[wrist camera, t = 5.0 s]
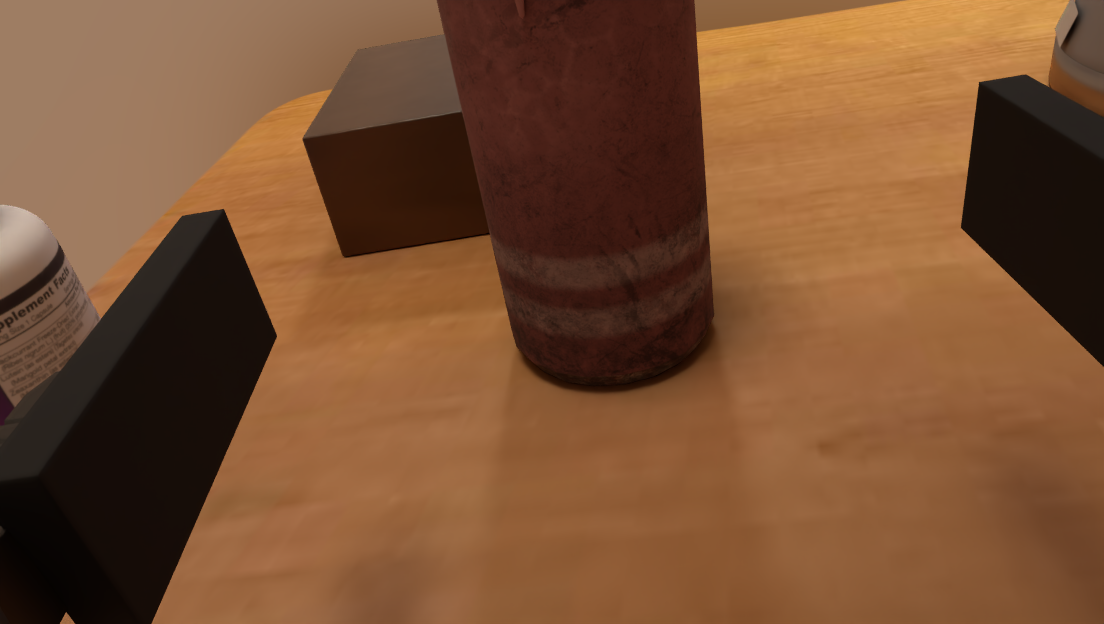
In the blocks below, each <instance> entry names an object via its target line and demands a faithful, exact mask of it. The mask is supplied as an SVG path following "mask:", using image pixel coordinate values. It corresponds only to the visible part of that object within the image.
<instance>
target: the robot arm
mask: <svg viewBox="0 0 1104 624" xmlns="http://www.w3.org/2000/svg"><path fill="white" fill-rule="evenodd" d="M1055 31H1056V38H1055V44H1054V50H1053V56H1052V61H1051V67H1050V73H1049V84H1050V86H1051V88H1052V89H1051V88H1049V87H1048V86H1046V85H1044V84H1042V83H1040V82H1038V81H1037V80H1035V79H1033V78H1031V77H1029V76H1028V75H1020V76H1014V77H1008V78H1002V79H996V80H990V81H984V82H979V88H978V96H977V104H976V112H975V120H974V128H973V136H972V144H971V152H970V160H969V168H968V176H967V184H966V191H965V199H964V207H963V215H962V223H961V228H962V229H963V230H964V231H965V232H966V233H967V234H968V235H969V236H970V237H971V238H972V239H973V240H974V241H975V242H976V243H977V244H978V245H979V246H980V247H981V248H982V249H983V250H984V251H985V252H986V253H987V254H988V255H989V256H990V257H992V258H993V259H994V260H995V261H996V262H997V263H998V264H999V265H1000V266H1001V267H1002V268H1003V269H1004V270H1005V271H1006V272H1007V273H1008V274H1009V275H1010V276H1011V277H1012V278H1013V279H1014V280H1015V281H1016V282H1017V283H1018V284H1019V285H1020V286H1021V287H1022V288H1023V289H1024V290H1025V291H1026V292H1027V293H1028V294H1029V295H1031V296H1032V297H1033V298H1034V299H1035V300H1036V301H1037V302H1038V303H1039V304H1040V305H1041V306H1042V307H1043V308H1044V309H1045V310H1046V311H1047V312H1048V313H1049V314H1050V315H1051V316H1052V317H1053V318H1054V319H1055V320H1056V321H1057V322H1058V323H1059V324H1060V325H1061V326H1062V327H1063V328H1064V329H1065V330H1066V331H1067V332H1069V333H1070V334H1071V335H1072V336H1073V337H1074V338H1075V339H1076V340H1077V341H1078V342H1079V343H1080V344H1081V345H1082V346H1083V347H1084V348H1085V349H1086V350H1087V351H1088V352H1089V353H1090V354H1091V355H1092V356H1093V357H1094V358H1095V359H1096V360H1097V361H1098V362H1099V363H1100V364H1101V365H1102V366H1103V367H1104V0H1075V2H1074V0H1070V1H1069V3H1068V5H1067V7H1066V8H1065V10H1064V12H1063V14H1062V16H1061V18H1060V20H1059V22H1058V24H1057V26H1056V28H1055ZM276 338H277V334H276V332H275V330H274V327H273V325H272V323H271V320H270V318H269V315H268V313H267V311H266V308H265V306H264V304H263V301H262V299H261V296H260V294H259V292H258V289H257V287H256V284H255V282H254V280H253V277H252V275H251V273H250V270H249V268H248V265H247V263H246V261H245V258H244V256H243V254H242V251H241V249H240V246H239V244H238V242H237V239H236V237H235V234H234V232H233V230H232V227H231V225H230V223H229V220H228V218H227V215H226V213H225V211H224V209H221V210H215V211H209V212H203V213H197V214H191V215H185V216H182V217H181V218H180V219H179V220H178V222H177V223H176V224H175V226H174V227H173V228H172V229H171V231H170V232H169V233H168V234H167V236H166V237H165V238H164V240H163V241H162V242H161V243H160V245H159V246H158V247H157V248H156V250H155V251H154V252H153V254H152V255H151V256H150V257H149V259H148V260H147V261H146V262H145V264H144V265H143V266H142V268H141V269H140V270H139V271H138V273H137V274H136V275H135V276H134V278H133V279H132V280H131V281H130V283H129V284H128V285H127V287H126V288H125V289H124V290H123V292H122V293H121V294H120V295H119V297H118V298H117V299H116V301H115V302H114V303H113V304H112V306H111V307H110V308H109V309H108V311H107V312H106V313H105V315H104V316H103V317H102V318H101V320H100V321H99V322H98V323H97V325H96V326H95V327H94V329H93V330H92V331H91V332H90V334H89V335H88V336H87V337H86V339H85V340H84V341H83V343H82V344H81V345H80V346H79V348H78V349H77V350H76V351H75V353H74V354H73V355H72V357H71V358H70V359H69V360H68V362H67V363H66V364H65V365H64V367H63V368H62V369H61V371H58V372H55V373H53V374H52V375H51V376H49V377H48V378H47V379H45V380H44V381H43V382H42V383H40V384H39V385H38V386H36V387H35V388H34V389H32V390H31V391H30V392H29V393H27V394H26V395H25V396H24V397H23V398H22V399H21V400H20V402H19V403H18V404H17V405H16V407H15V408H14V409H13V410H12V412H11V413H10V414H9V415H8V416H7V418H6V419H5V420H4V422H5V425H2V426H0V624H60V622H61V620H62V618H63V617H64V615H65V613H66V612H67V614H68V615H69V616H70V617H71V619H72V620H73V621H74V623H75V624H151V623H152V621H153V619H154V617H155V614H156V612H157V610H158V607H159V605H160V603H161V601H162V598H163V596H164V594H165V591H166V589H167V587H168V585H169V582H170V580H171V578H172V575H173V573H174V571H175V568H176V566H177V564H178V562H179V559H180V557H181V555H182V552H183V550H184V548H185V546H186V543H187V541H188V539H189V536H190V534H191V532H192V530H193V527H194V525H195V523H196V520H197V518H198V516H199V514H200V511H201V509H202V507H203V504H204V502H205V500H206V498H207V495H208V493H209V491H210V488H211V486H212V484H213V482H214V479H215V477H216V475H217V472H218V470H219V468H220V466H221V463H222V461H223V459H224V456H225V454H226V452H227V450H228V447H229V445H230V443H231V440H232V438H233V436H234V434H235V431H236V429H237V427H238V424H239V422H240V420H241V418H242V415H243V413H244V411H245V408H246V406H247V404H248V402H249V399H250V397H251V395H252V392H253V390H254V388H255V386H256V383H257V381H258V379H259V376H260V374H261V372H262V370H263V367H264V365H265V363H266V360H267V358H268V356H269V354H270V351H271V349H272V347H273V344H274V342H275V340H276Z"/></svg>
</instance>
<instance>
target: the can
mask: <svg viewBox="0 0 1104 624" xmlns="http://www.w3.org/2000/svg"><path fill="white" fill-rule="evenodd" d="M437 3H438V8H439V12H440V17H441V21H442V25H443V30H444V34H445V39H446V43H447V47H448V52H449V56H450V61H451V65H452V69H453V74H454V78H455V83H456V87H457V91H458V96H459V100H460V105H461V109H462V113H463V118H464V122H465V127H466V131H467V135H468V140H469V144H470V149H471V153H472V157H473V162H474V166H475V171H476V175H477V179H478V184H479V188H480V193H481V197H482V201H483V206H484V210H485V215H486V219H487V223H488V228H489V232H490V237H491V241H492V245H493V250H494V254H495V259H496V263H497V267H498V272H499V276H500V281H501V285H502V289H503V294H504V298H505V303H506V307H507V311H508V316H509V320H510V325H511V329H512V332H513V336H514V339H515V343H516V346H517V348H518V349H519V350H520V351H522V352H523V353H524V354H525V355H526V356H527V357H528V358H529V359H530V360H531V361H532V362H533V363H534V364H535V365H537V366H538V367H539V368H540V369H541V370H543V371H544V372H546V373H548V374H550V375H552V376H555V377H557V378H559V379H562V380H564V381H566V382H573V383H579V384H586V385H592V386H599V385H617V384H626V383H630V382H634V381H638V380H642V379H646V378H650V377H654V376H656V375H658V374H659V373H661V372H663V371H665V370H667V369H669V368H671V367H673V366H675V365H677V364H679V363H680V362H681V361H682V360H683V359H684V358H685V357H686V356H688V355H689V354H690V353H691V352H692V351H693V350H694V349H695V348H696V347H697V345H698V344H699V342H700V341H701V340H702V338H703V337H704V335H705V334H706V331H707V329H708V327H709V325H710V323H711V321H712V319H713V317H714V309H713V293H712V277H711V261H710V245H709V229H708V213H707V197H706V181H705V165H704V149H703V133H702V117H701V101H700V85H699V69H698V52H697V36H696V21H695V6H694V5H695V4H694V0H437Z"/></svg>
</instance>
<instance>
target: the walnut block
mask: <svg viewBox="0 0 1104 624" xmlns="http://www.w3.org/2000/svg"><path fill="white" fill-rule="evenodd" d="M303 142H304V145H305V148H306V151H307V154H308V157H309V160H310V163H311V166H312V168H313V171H314V174H315V177H316V180H317V183H318V186H319V189H320V192H321V194H322V197H323V200H324V203H325V206H326V209H327V212H328V215H329V218H330V220H331V223H332V226H333V229H334V232H335V235H336V238H337V241H338V244H339V246H340V249H341V252H342V255H343V256H344V257H345V256H351V255H357V254H363V253H369V252H375V251H381V250H388V249H394V248H400V247H406V246H412V245H418V244H425V243H431V242H437V241H443V240H449V239H455V238H462V237H468V236H474V235H480V234H486V233H490V232H489V228H488V223H487V219H486V215H485V210H484V206H483V201H482V197H481V193H480V188H479V184H478V179H477V175H476V171H475V166H474V162H473V157H472V153H471V149H470V144H469V140H468V135H467V131H466V127H465V122H464V118H463V113H462V109H461V105H460V100H459V96H458V91H457V87H456V83H455V78H454V74H453V69H452V65H451V61H450V56H449V52H448V47H447V43H446V39H445V34H444V35H438V36H432V37H427V38H421V39H415V40H410V41H404V42H398V43H393V44H387V45H381V46H376V47H370V48H365V49H360V50H357V51H356V53H355V54H354V56H353V58H352V59H351V61H350V62H349V64H348V66H347V68H346V69H345V71H344V72H343V74H342V75H341V77H340V79H339V80H338V82H337V84H336V85H335V87H334V88H333V90H332V91H331V93H330V95H329V96H328V98H327V100H326V101H325V103H324V104H323V106H322V108H321V109H320V111H319V112H318V114H317V116H316V117H315V119H314V120H313V122H312V124H311V125H310V127H309V129H308V130H307V132H306V133H305V135H304V137H303Z"/></svg>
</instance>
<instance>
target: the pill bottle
mask: <svg viewBox="0 0 1104 624" xmlns="http://www.w3.org/2000/svg"><path fill="white" fill-rule="evenodd" d="M100 320H101V318H100V316H99V315H98V313H97V311H96V309H95V307H94V306H93V304H92V302H91V300H90V298H89V297H88V295H87V293H86V291H85V290H84V288H83V286H82V284H81V283H80V281H79V279H78V278H77V275H76V274H75V272H74V270H73V268H72V266H71V265H70V263H69V261H68V259H67V257H66V255H65V254H64V252H63V250H62V248H61V246H60V245H59V243H58V241H57V239H56V238H55V237H54V235H53V233H52V232H51V230H50V229H49V227H48V226H47V225H46V223H45V222H44V221H43V220H42V219H40V218H39V217H38V216H36V215H35V214H33V213H31V212H29V211H27V210H24V209H22V208H18V207H14V206H9V205H0V426H2V425H5V422H4V420H5V419H6V418H7V416H8V415H9V414H10V413H11V412H12V410H13V409H14V408H15V407H16V405H17V404H18V403H19V402H20V400H21V399H22V398H23V397H24V396H25V395H26V394H27V393H29V392H30V391H31V390H32V389H34V388H35V387H36V386H38V385H39V384H40V383H42V382H43V381H44V380H45V379H47V378H48V377H49V376H51V375H52V374H53V373H55V372H58V371H61V369H62V368H63V367H64V365H65V364H66V363H67V362H68V360H69V359H70V358H71V357H72V355H73V354H74V353H75V351H76V350H77V349H78V348H79V346H80V345H81V344H82V343H83V341H84V340H85V339H86V337H87V336H88V335H89V334H90V332H91V331H92V330H93V329H94V327H95V326H96V325H97V323H98V322H99V321H100Z"/></svg>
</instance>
